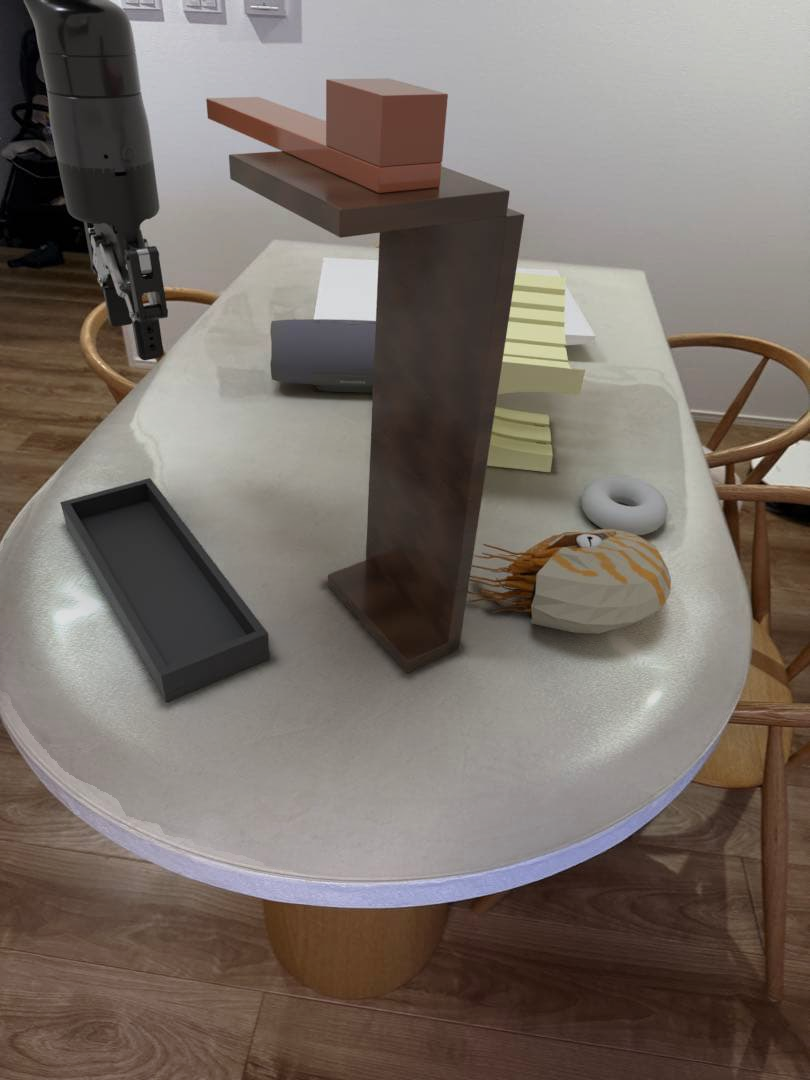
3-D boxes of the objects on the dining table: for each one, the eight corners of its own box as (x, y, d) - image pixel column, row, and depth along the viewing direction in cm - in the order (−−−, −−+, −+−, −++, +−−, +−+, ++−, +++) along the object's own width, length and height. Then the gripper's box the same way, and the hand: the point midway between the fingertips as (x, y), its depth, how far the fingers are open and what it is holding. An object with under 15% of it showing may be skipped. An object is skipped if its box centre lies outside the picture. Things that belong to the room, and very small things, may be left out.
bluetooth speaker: (425, 375, 118) (430, 312, 112) (431, 403, 110) (437, 337, 104) (275, 371, 115) (273, 306, 109) (271, 399, 108) (268, 331, 102)
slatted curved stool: (437, 385, 115) (449, 266, 104) (543, 396, 114) (565, 277, 104) (420, 495, 91) (433, 354, 80) (554, 509, 91) (585, 370, 80)
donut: (580, 487, 95) (575, 531, 87) (585, 463, 93) (581, 506, 85) (662, 502, 94) (665, 549, 86) (669, 478, 92) (673, 523, 84)
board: (313, 350, 122) (313, 322, 119) (323, 282, 148) (323, 257, 145) (589, 363, 125) (595, 336, 122) (552, 294, 151) (557, 270, 148)
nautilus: (439, 640, 73) (457, 552, 85) (673, 668, 70) (656, 572, 82) (443, 572, 68) (461, 490, 81) (692, 600, 65) (671, 509, 78)
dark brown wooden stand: (259, 611, 74) (228, 154, 49) (377, 566, 80) (400, 143, 56) (334, 708, 65) (340, 209, 40) (459, 648, 71) (528, 188, 47)
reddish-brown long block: (207, 118, 59) (201, 43, 56) (259, 116, 61) (256, 43, 58) (378, 194, 44) (382, 95, 41) (440, 187, 46) (448, 94, 43)
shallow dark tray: (66, 526, 82) (60, 502, 80) (154, 501, 87) (150, 477, 85) (166, 702, 64) (161, 676, 62) (269, 658, 69) (268, 633, 67)
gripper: (36, 139, 66) (74, 321, 76) (82, 177, 57) (119, 378, 67) (123, 134, 69) (149, 309, 79) (180, 169, 60) (202, 361, 70)
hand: (136, 340), depth 73 cm, fingers open, 8 cm apart
